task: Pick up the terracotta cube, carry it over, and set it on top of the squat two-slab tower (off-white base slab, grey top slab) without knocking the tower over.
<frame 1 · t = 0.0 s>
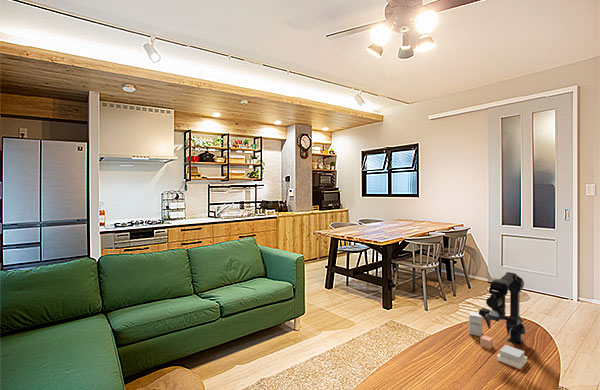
hand: (498, 331, 174), 15 cm above the table, fingers open, 9 cm apart
supplement box: (475, 333, 203), on the table
tower top: (512, 356, 172), point 2 cm above the table, touching tower base
tower base: (511, 361, 172), on the table, touching tower top
cube: (486, 346, 187), on the table
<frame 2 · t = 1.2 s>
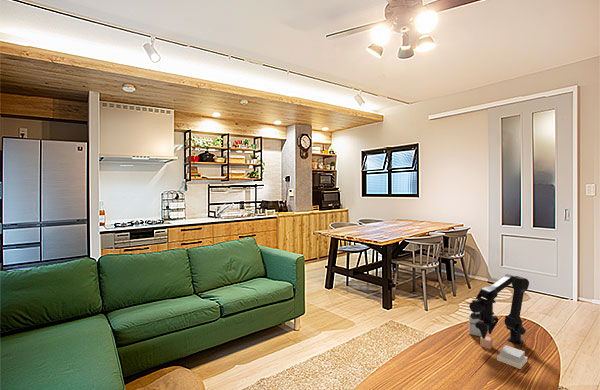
hand: (486, 336, 187), 6 cm above the table, fingers open, 9 cm apart
nothing on the table moved.
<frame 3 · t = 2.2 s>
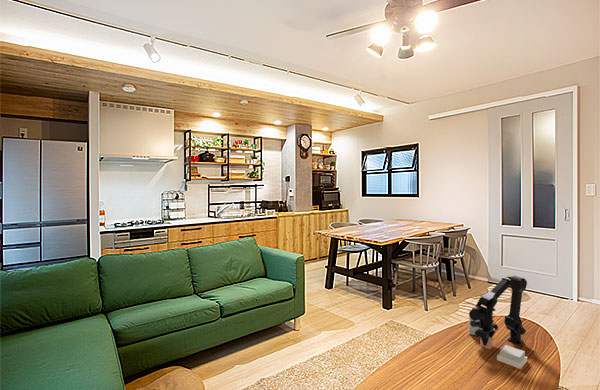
hand: (486, 344, 187), 1 cm above the table, fingers closed on cube, 5 cm apart
cube: (486, 346, 187), on the table, touching gripper
everything else where it was.
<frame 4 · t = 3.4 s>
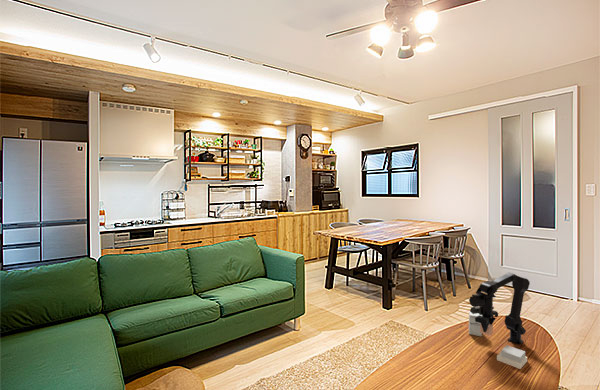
hand: (486, 330, 187), 9 cm above the table, fingers closed on cube, 5 cm apart
cube: (486, 332, 187), point 8 cm above the table, touching gripper
everything else where it was.
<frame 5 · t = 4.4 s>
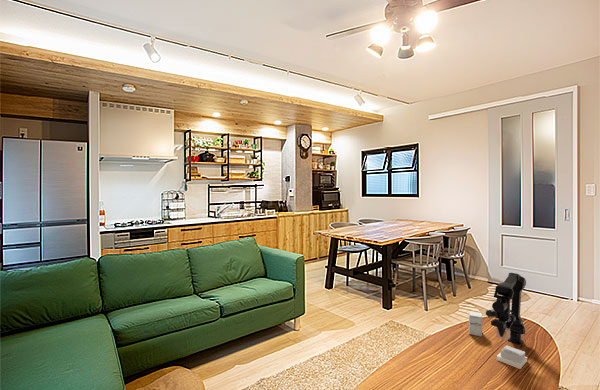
hand: (503, 335, 176), 12 cm above the table, fingers closed on cube, 5 cm apart
cube: (503, 337, 176), point 10 cm above the table, touching gripper
everything else where it was.
when the fingers open (8 cm above the table, at t = 5.7 s): cube drops 2 cm, resting on tower top.
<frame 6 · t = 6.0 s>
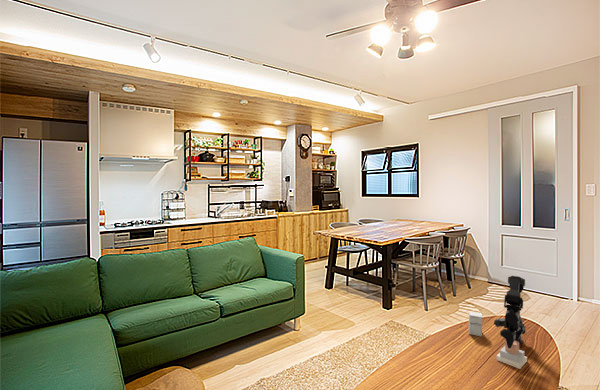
hand: (512, 345, 171), 8 cm above the table, fingers open, 9 cm apart
tower top: (512, 356, 172), point 2 cm above the table, touching cube, tower base
cube: (512, 350, 172), point 5 cm above the table, touching tower top
everything else where it was.
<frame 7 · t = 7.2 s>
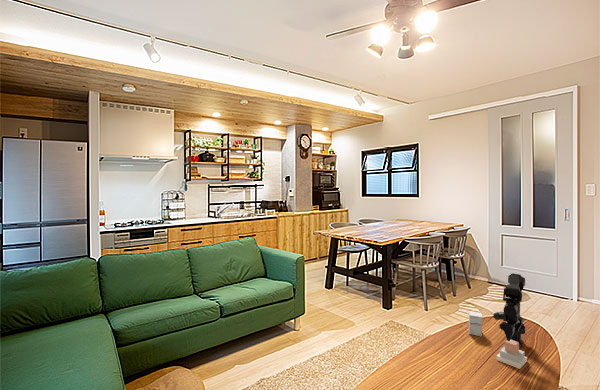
hand: (511, 338, 173), 12 cm above the table, fingers open, 9 cm apart
nothing on the table moved.
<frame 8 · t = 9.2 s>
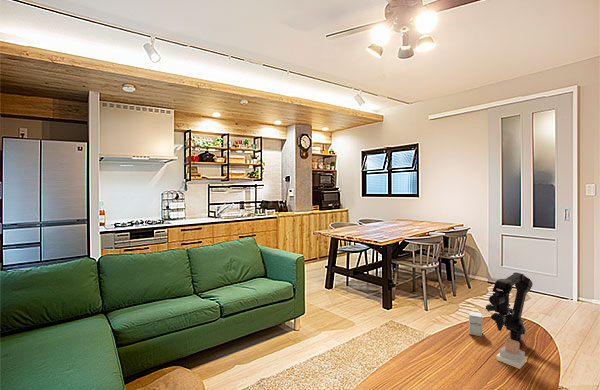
hand: (502, 328, 184), 12 cm above the table, fingers open, 9 cm apart
nothing on the table moved.
at the end: cube 0.4 cm off-centre on the tower base, point 6.1 cm above the tower base's base; tower top moved 0.8 cm from its start; tower base moved 0.8 cm from its start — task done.
